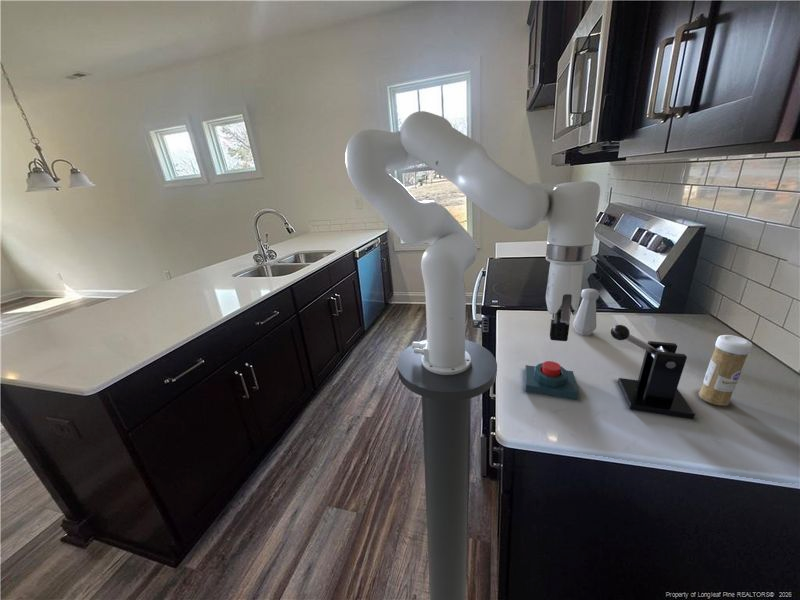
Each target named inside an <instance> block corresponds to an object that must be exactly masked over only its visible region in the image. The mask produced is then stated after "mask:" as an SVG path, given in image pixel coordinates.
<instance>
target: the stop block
mask: <svg viewBox="0 0 800 600" xmlns="http://www.w3.org/2000/svg"><path fill="white" fill-rule="evenodd" d="M543 363H544V362H541V363H537V365H529V364H526V365H524V366H525V367H524V387H525V390H524V391H525V392H526V393H533V394H537V395H545V396H551V397H557V398H558V397H559V398H565V399H572V400H578V398H579V390H578V389H579V388H578V386H577V382H576V378H575V374H574V371H573V370H568V369H567V370H566V368H564V367H563V366H561V371H560V375H559V376H558V377H551V376H547V375H545V374H543V372H542V366H543Z"/></svg>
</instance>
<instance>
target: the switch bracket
mask: <svg viewBox="0 0 800 600" xmlns="http://www.w3.org/2000/svg"><path fill="white" fill-rule="evenodd" d="M647 344H649V345H651V346H653V347H654V348H656V349H657V348H658V347H659V346H662V347H664V348H665V349H667V350H669V351H671V352H673V353H668V352H659V351H656V353H655V356H654V358H653V357H652V355H651V354H652V353H650V352H648V351H646V350H645V352H644V355H643V360H642V364H641V366H640V371H639V375H638V378H637V379H631V378H624V377H623V378H622V377H618V378H617V384H618V386H619V388H620V391H621V393H622V395H623V397H624V400H625V402H626V404H627V406H628V409H629V410H632V411H638V412H645V413H651V414H656V415H663V416H670V417H676V418H682V419H688V420H689V419H690V420H695V419H694V418H695V417H696V413H695V412H694V410H693V409H692V407H691V406H690V405H689V403H688V402H687V401H686V399H685V398H684V396H683V395H682V394H681V392H680V391H679V389H678V387H679V383H680V380H681V377H682V374H683V371H684V368H685V365H686V361H687V358H688V356H687V355H686V354H685V353H678V352H677V349H678V344H677V343H674V342H665V341H653V340H648V341H647ZM676 352H677V353H676Z"/></svg>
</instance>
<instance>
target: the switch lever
mask: <svg viewBox="0 0 800 600" xmlns="http://www.w3.org/2000/svg"><path fill="white" fill-rule="evenodd" d="M610 336H611V337H612V338H613V339H615V340H617V341H625V340H626V341H628V342H630V343H631V344H634V345H635V346H637V347H639V348H641V349H643V350H644V351H645V352H646V351H648V352H650V353H652V354H651V355H652V357H653V358H654V356H655V353H656V351H659V352H668V353H673V352H671V351H669V350H667V349H665V348H664V347H662V346H659V347H658V348H657V349H656V348H654V347H653V346H651V345H649V344H648V342H645V341H643V340H642V339H639V338H638V337H636V336H634V335H632V334H631V333H630V329H629V328H628V327H627V326H625V325H624V324H616V325H614V326H612V328H611V329H610Z"/></svg>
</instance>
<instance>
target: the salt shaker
mask: <svg viewBox="0 0 800 600" xmlns="http://www.w3.org/2000/svg"><path fill="white" fill-rule="evenodd" d="M599 297H600V292H599V290H598V289H595V288H589V287H587V288H584V289H581V293H580V298H582V300H581V302H580V303H579V307H578V311H577V314H575V317H574V320H573V323H572V325H573V328H574V330H575V334H578V335H580V336H590V335H592V334H593V332H594V331H595V330H597V326H598V325H597V300H599Z"/></svg>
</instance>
